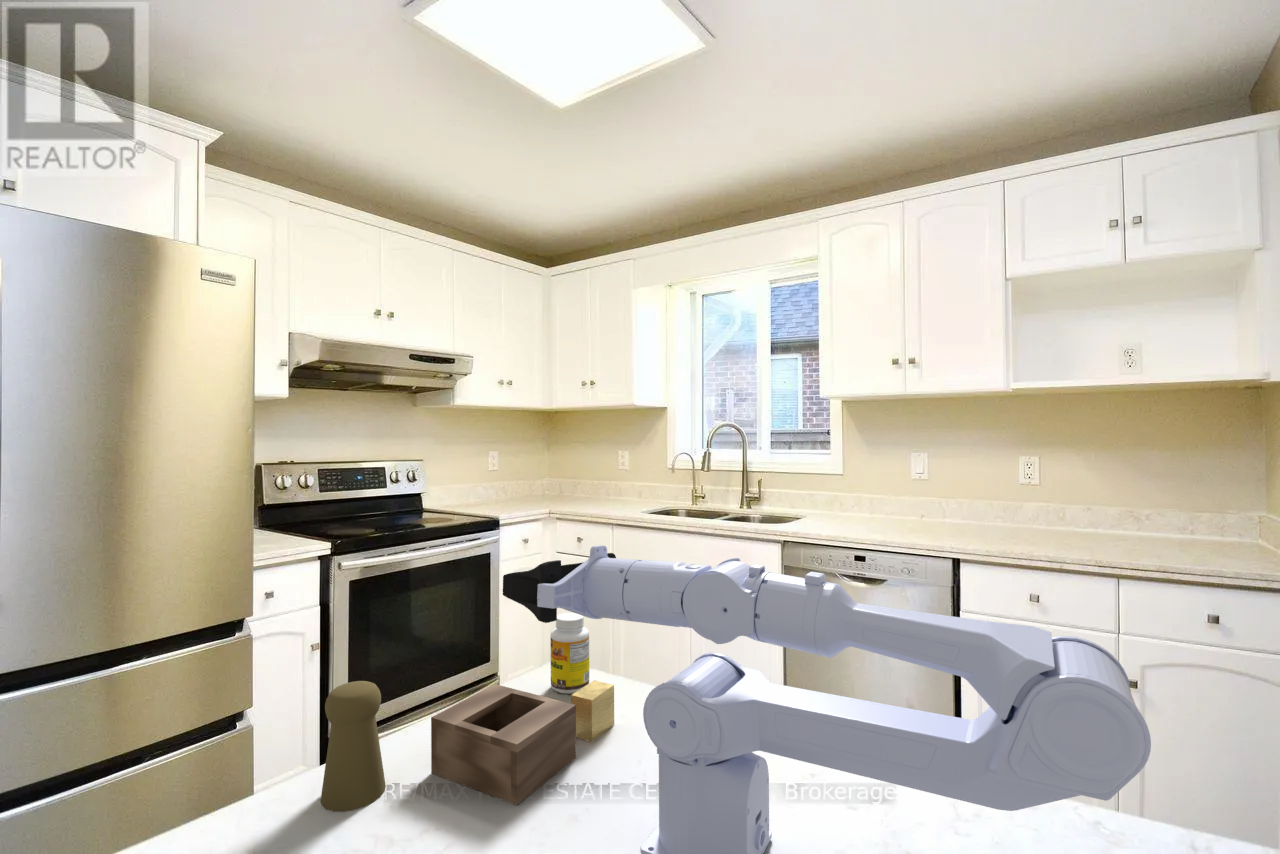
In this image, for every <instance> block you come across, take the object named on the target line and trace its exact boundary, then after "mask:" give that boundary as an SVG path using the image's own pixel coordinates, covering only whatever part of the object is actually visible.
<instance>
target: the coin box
mask: <svg viewBox="0 0 1280 854" xmlns="http://www.w3.org/2000/svg"><path fill="white" fill-rule="evenodd" d="M430 720H431V721H430V731H431V732H430V737H431V738H430V739H431V740H430V743H431V744H430V746H431V749H430V750H431V751H430V755H431V756H430V757H431V759H430V761H431V763H430V764H431V765H430V767H431V768H430V773H431V774H433V775H435V776H439V777H441V778H444V779H447V780H449V781H452V782H454V783H458V784H460V785H462V786H465V787H467V788H470V789H472V790H475V791H478V792H481V793H484V794H486V795H489V796H491V797H493V798H497V799H499V800H502V801H504V802H508V803H509V804H513V805H515V806H518V805H520V804H521V803H522V802H524V801H525V800H526V799H527V798H528V797H530V796H531V795H532V794H533V793H535V792H536V791H538V790H539V789H540V788H541V787H542V786H543V785H545V784H546V783H547V782H548V781H550V780H551V779H552V778H553V777H554V776H556V775H557V774H559V773H560V772H561V771H562V770H564V769H565V768H566V767H567V766H569V765H570V764H571V763H573V762H574V761H575V760H576V759H577V737H576V705H574V704H571V703H570V702H566V701H563V700H558V699H554V698H550V697H547V696H544V695H539V694H536V693H532V692H528V691H523V690H520V689H516V688H512V687H509V686H504V685H500V684H497V683H494V684H493V685H490V686H489V687H487V688H485V689H483V690H481V691H479V692H478V693H476V694H473V695H472V696H470V697H467V698H466V699H464V700H462V701H459V702H458V703H456V704H455V705H452V706H450V707H449V708H446V709H445V710H443V711H440V712H439V713H437V714H434V715H433V716H431V718H430Z"/></svg>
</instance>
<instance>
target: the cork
mask: <svg viewBox="0 0 1280 854" xmlns="http://www.w3.org/2000/svg"><path fill="white" fill-rule="evenodd" d="M381 704H382V693H381V690H380V688H379V687H378V686H377V684H376V683H375V682H371V681H367V680H356V681H350V682H346V683H343V684H340V685H338V686H336V687H335V688H334V689H332V690H331V691H330V692H329V694H328V696H327V697H326V700H325V703H324V710H325V715H326V718H327V720H328V722H329V723H330V729H329V736H328V737H329V738H328V745H327V753H326V758H325V766H324V774H323V782H322V787H321V793H320V794H321V795H320V805H321V807H322V808H323V809H325V810H326V811H330V812H333V813H334V812H336V813H339V812H340V813H344V812H351V811H355V810H358V809H362V808H365V807H366V806H368V805H371V804H372V803H375V802H376V801H377V800H378V799H380V798H381V797H382V796H383V794H384V793H385V791H386V787H387V786H386V781H385V780H386V779H385V772H384V765H383V764H384V763H383V759H382V751H381V745H380V744H381V743H380V738H379V731H378V725H377V713H378V712H379V711H380V707H381Z"/></svg>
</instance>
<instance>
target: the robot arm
mask: <svg viewBox="0 0 1280 854" xmlns="http://www.w3.org/2000/svg"><path fill="white" fill-rule="evenodd" d="M502 595H503V596H504V597H505V598H507V599H509V600H511V601H514V602H515V603H518V604H519V605H521V606H523V607H525V608H526V609H528V610H529V611H530V612H531V613H532V614H533V615H534V616H535V618H536V619H537V620H538V621H539V622H541V623H545V624H547V623H548V624H549V623H552V622H556V621H557V616H558V615H557V614H558V609H563V610H565V611H567V612H570V613H576V614H579V615H582V616H583V617H585V618H588V619H591V620H592V619H593V620H601V619H603V618H604V619H611V620H619V621H626V622H635V623H642V624H651V625H658V626H659V625H660V626H667V627H676V628H689V629H693V631H694V632H695V633H697V635H699V636H701V637H702V638H704V639H705V640H709V641H711V642H713V643H714V644H717V645H723V644H727V643H728V644H729V643H731V642H732V641H734V640H736V639H738V637H746V638H748V639H751V640H753V641H757V642H761V643H765V644H769V645H772V646H778V647H783V648H787V649H789V650H790V649H791V650H794V651H800V652H804V653H807V654H813V655H816V656H819V657H820V656H821V657H824V658H825V657H826V658H827V659H828V658H829V659H831V658H834V657H836V656H838V655H839V654H840V653H842V652H843V651H844V650H845V649H847V648H850V647H852V648H855V649H860V650H863V651H867V652H871V653H872V654H873V653H874V654H877V655H881V656H885V657H888V658H892V659H895V660H900V661H903V662H907V663H911V664H914V665H917V666H921V667H924V668H928V669H932V670H936V671H939V672H942V673H947V674H951V675H954V676H958V677H960V678H963V679H964V680H965V681H967V682H968V684H969V685H971V687H972V688H973V689H974V690H975V691H976V693H978V695H979V696H980V697H981V698H982V699H983V701H985V702H986V703H987V705H988V706H989V707H988V708H987V709H986V710H985V711H984V712H982V713H981V714H980V715H979V716H978V717H976V718H974V719H968V718H964V717H957V716H953V715H946V714H941V713H936V712H930V711H925V710H921V709H915V708H909V707H908V708H907V707H903V706H897V705H892V704H887V703H881V702H875V701H871V700H865V699H859V698H853V697H848V696H842V695H838V694H832V693H827V692H821V691H817V690H810V689H805V688H800V687H795V686H789V685H784V684H779V683H773V682H771V681H769V679H768V678H767V677H766V676H765V675H764V674H763V672H762V670H761V671H760V670H759V669H754V668H749V667H746V666H743V665H742V664H740V663H738V662H737V661H736V660H734V659H733V658H731V657H730V656H728V655H726V654H724V653H720V652H706V653H704V654H702V655H700V656H698V657H697V658H696V659H695V660H694V661H693V663H691V664H690V665H689V666H687V667H685V668H684V669H683V670H681V671H680V672H678V674H676V675H674V676H673V677H671V678H670V679H668V680H667V681H666V682H662V683H661V684H659V685H657V686H655V687H654V688H652V689H651V690H650V692H649V693H648V695H647V696H646V699H645V700H644V704H643V709H642V710H643V712H642V714H643V715H642V717H643V723H644V727H645V731H646V733H647V736H649V739H650V740H651V742H652V743H653V745H654V746H655V748H656V754H657V755H658V825H657V826H656V827H655V828H654V830H653V831H652V832H651V833H650V835H648V837H647V838H646V839H645V841H643V843H642V844H641V846H640V853H641V854H764V853H765V851H766V848H768V845H769V843H770V842H771V840H772V836H773V833H772V831H771V829H770V780H769V779H770V778H769V777H770V775H769V774H770V773H769V766H768V761H767V760H766V759H765V758H764V757H763V756H760V755H759V754H756V753H754V752H757V751H758V752H763V753H767V754H772V755H776V756H780V757H784V758H788V759H792V760H795V761H799V762H805V763H808V764H812V765H817V766H820V767H823V768H827V769H831V770H832V769H833V770H836V771H840V772H844V773H848V774H853V775H856V776H860V777H864V778H870V779H873V780H876V781H881V782H885V783H889V784H893V785H897V786H901V787H905V788H909V789H912V790H917V791H921V792H925V793H930V794H934V795H937V796H941V797H946V798H950V799H954V800H957V801H960V802H961V801H963V802H966V803H970V804H974V805H978V806H982V807H985V808H990V809H995V810H998V811H1008V812H1012V811H1014V812H1015V811H1021V810H1025V809H1028V808H1033V807H1038V806H1042V805H1046V804H1050V803H1054V802H1059V801H1063V800H1067V799H1071V798H1076V797H1079V796H1084V797H1087V798H1092V799H1097V800H1101V801H1104V802H1105V801H1110V800H1111V799H1112V798H1113V797H1114V796H1116V795H1117V794H1118V793H1119V792H1120V791H1121V790H1122V789H1123V788H1124V787H1125V786H1127V784H1128V783H1129V782H1131V781H1132V780H1133V779H1134V778H1135V777H1136V776H1137V775H1138V774H1139V773H1140V772H1141V771H1142V770H1143V769H1144V768H1145V766H1146V765H1147V762H1148V761H1149V757H1150V754H1151V748H1152V741H1151V733H1150V729H1149V727H1148V723H1147V722H1146V720H1145V718H1144V716H1143V715H1142V713H1141V712H1140V710H1139V709H1138V707H1137V705H1136V702H1135V699H1134V698H1133V695H1132V692H1131V686H1130V685H1131V684H1130V681H1129V677H1128V674H1127V672H1126V670H1125V668H1124V667H1123V666H1122V664H1121V662H1120V661H1119V660H1118V659H1117V658H1116V657H1115V656H1114V654H1112V653H1111V652H1109V650H1107V649H1105V648H1104V647H1102V646H1101V645H1099V644H1097V643H1096V642H1093V641H1091V640H1088V639H1087V638H1082V637H1078V636H1073V635H1071V636H1070V635H1059V636H1058V635H1057V636H1053V635H1052V632H1051V631H1048V630H1046V629H1042V628H1038V627H1036V626H1033V625H1032V626H1031V625H1025V624H1016V623H1015V624H1014V623H1005V622H995V621H989V620H981V619H975V618H967V617H960V616H952V615H945V614H938V613H931V612H925V611H924V612H923V611H918V610H917V611H915V610H910V609H903V608H895V607H888V606H880V605H875V604H873V605H872V604H865V603H859V602H857V601H856V600H855V599H854V598H853V597H852V596H851V595H850V593H848V591H846V589H845V588H844V587H843V586H842V585H841V584H839V583H834V582H829V581H826V574H825V573H822V572H816V571H809V572H808V573H807V574H805V575H804V577H801V576H795V575H788V574H784V573H783V574H782V573H777V572H772V571H766V567H765V565H762V564H757V563H756V564H752V565H750V564H748V563H746V562H743V561H741V559H740V558H738V557H735V558H729V559H726V560H724V561H722V562H720V563H719V564H718V565H716V566H714V567H713V568H712V566H711V565H707V564H706V565H705V564H698V563H697V564H696V563H691V564H689V563H686V562H681V561H667V560H665V561H664V560H649V559H648V560H647V559H633V558H630V559H629V558H618V557H616V554H615V553H613V552H608V547H607V546H606V545H602V544H599V545H592V546H591V547H590V550H589V557H588V559H586V560H585V561H582V562H577V563H569V564H563V565H562V560H560V559H557V560H550V561H546V562H545V561H544V562H542V563H541V564H538V565H537V566H535V567H534V568H532V569H530V570H529V569H528V570H524V571H523V570H522V571H517V572H509V573H506V574H503V575H502Z"/></svg>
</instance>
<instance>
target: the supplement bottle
mask: <svg viewBox="0 0 1280 854" xmlns="http://www.w3.org/2000/svg"><path fill="white" fill-rule="evenodd" d="M584 620H585V619H584V616H582V615H579V614H576V613H574V612H564V613H559V614H558V615H557V621H555V627H554V628H553V629H552V631H550V632H551V633H550V686H551V688H552V690H554V691H555V692H557V693H560V694H563V695H564V694H565V695H567V694H569V695H572V694H574V693H575V692H577V691H578V690H580V689H581V688H583V687H585V686H586V685H588V684H589V683H590V631H589V629H588V628H587V627H585V625H584V624H585V623H584V622H585V621H584Z"/></svg>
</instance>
